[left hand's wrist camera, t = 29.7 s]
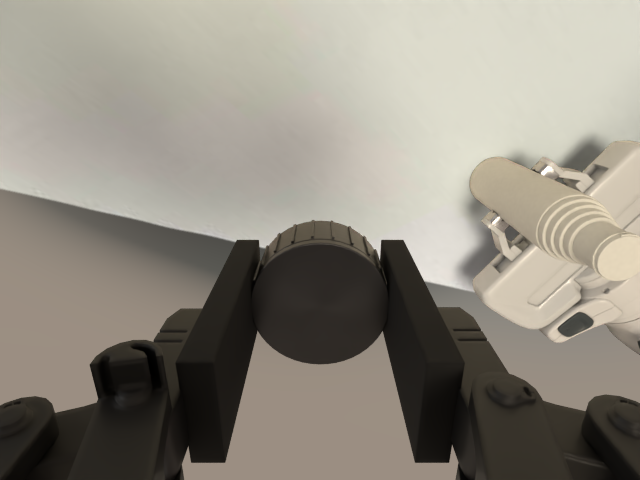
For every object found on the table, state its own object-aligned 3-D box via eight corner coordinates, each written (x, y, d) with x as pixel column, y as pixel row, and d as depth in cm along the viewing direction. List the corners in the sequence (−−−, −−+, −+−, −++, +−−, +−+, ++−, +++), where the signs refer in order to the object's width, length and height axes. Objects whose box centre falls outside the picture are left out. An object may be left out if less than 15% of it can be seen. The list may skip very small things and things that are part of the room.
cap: (240, 236, 14) (228, 261, 12) (368, 205, 14) (376, 226, 12) (277, 341, 16) (272, 377, 14) (393, 316, 15) (403, 350, 13)
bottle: (516, 200, 46) (659, 290, 27) (469, 206, 46) (577, 300, 27) (518, 153, 44) (673, 214, 25) (469, 160, 45) (584, 226, 25)
